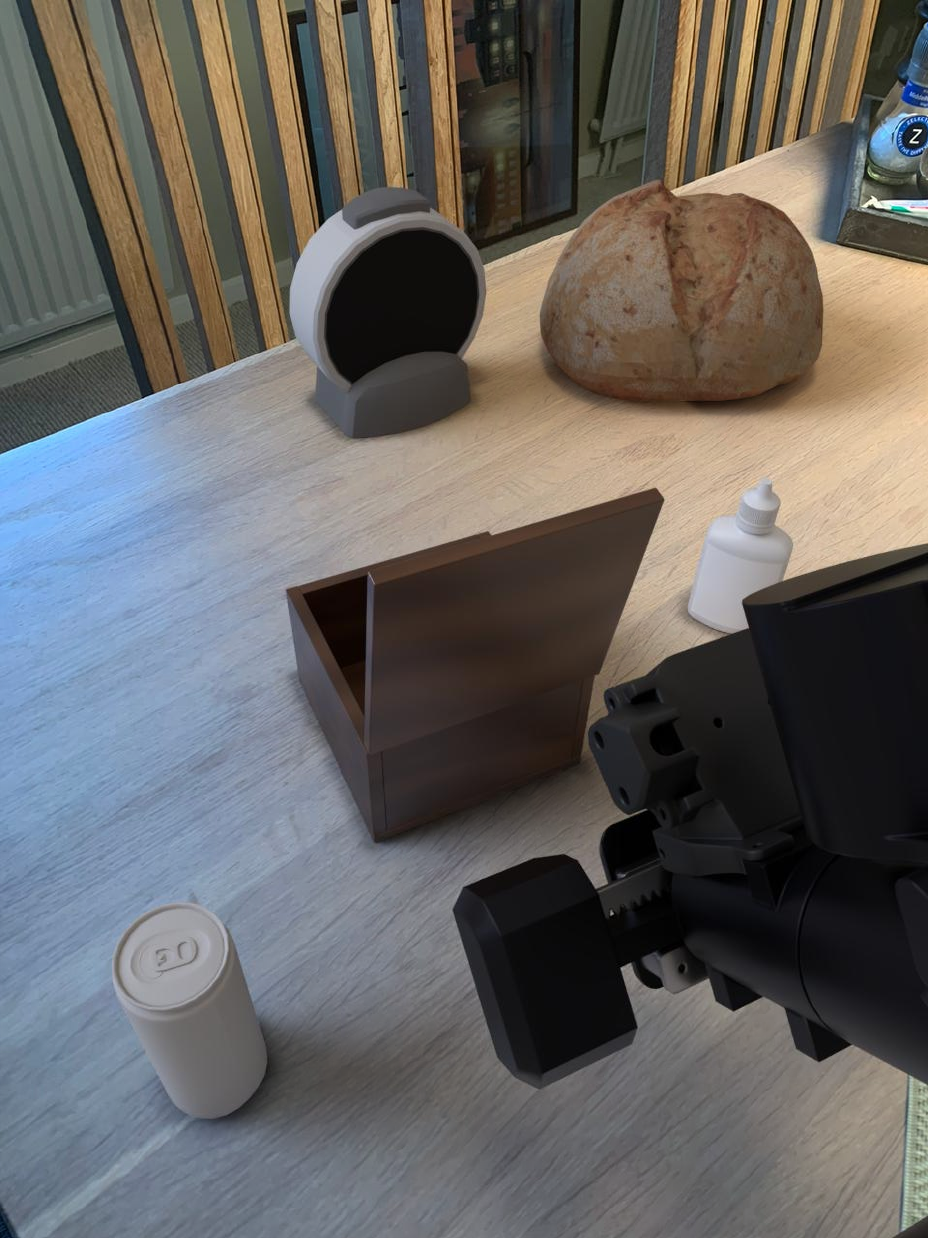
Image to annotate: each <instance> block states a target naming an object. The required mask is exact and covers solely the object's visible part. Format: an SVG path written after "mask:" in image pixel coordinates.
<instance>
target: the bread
mask: <svg viewBox="0 0 928 1238" xmlns="http://www.w3.org/2000/svg"><path fill="white" fill-rule="evenodd" d="M817 267H818V266H817V263H816V260H815V257H814V254H813V251H812V249H811V247H810V245H809V243H808V241H807V240H806V238H805V237H804V236H803V234H802V232H801V231H800V230H799V229H798V227H797V226H796V225H795V223H794V222H793V221H792V220H791V218H790V217H789V216H788V214H786V212H784V211H783V210H782V209H780V208H778V207H776V206H775V205H773V204H772V203H770V202H767V201H765V200H763V199H759V198H756V197H752V196H750V195H747V194H745V193H743V192H736V193H729V194H721V193H716V192H715V193H714V192H703V193H695V194H686V195H680V196H677V195H675V194H674V192H672V191H671V190H670V189H668V188H667V186H665V184H664V182H663V181H662V180H661V179H654V180H652V181H649V182H646V183H645V184H642V185H640V186H637V187H635V188H632V189H630V190H627V191H625V192H622V193H620V194H617V195H615V196H613V197H611V198H610V199H609V200H607V201H606V202H604V203H603V204H602V205H600V206H599V207H597V208H596V209H595V210H594V211H593V212H592V213H591V214H589V215H588V216H587V217H586V218H585V219H584V220H583V221H582V222H581V223H580V225H579V226H578V227H577V228H576V230H575V231H574V232H573V233H572V235H571V237H570V238H569V240H568V241H567V243H566V244H565V246H564V247H563V250H562V251H561V253H560V255H559V257H558V259H557V261H556V264H555V266H554V268H553V270H552V273H551V274H550V276H549V278H548V281H547V285H546V288H545V291H544V295H543V298H542V302H541V306H540V310H539V316H538V317H539V328H540V331H539V332H540V335H541V338H542V341H543V345H544V346H545V349H546V350H547V352H548V353H549V355H550V356H551V358H552V359H553V360H554V362H555V363H556V365H558V366H559V368H560V369H561V370H562V371H563V373H565V374H566V375H567V376H568V378H569V379H570V380H572V381H573V382H575V383H576V384H578V385H580V386H582V387H584V388H585V389H587V390H588V391H590V392H592V393H593V392H594V393H597V394H601V395H605V396H609V397H614V398H617V399H622V400H629V401H640V402H688V401H689V402H694V401H710V402H711V401H713V402H714V401H715V402H716V401H717V402H718V401H719V402H720V401H729V400H738V399H746V398H751V397H753V398H754V397H756V396H759V395H760V394H762V393H764V392H767V391H768V390H771V389H773V388H774V387H777V386H778V385H784V384H789V383H793V382H794V381H796V380H797V379H799V378H800V377H801V376H802V375H804V374H805V373H807V372H808V371H809V370H810V369H812V368H813V366H814V364H815V363H816V362H817V360H818V358H819V357H820V354H821V350H822V347H823V333H824V332H823V331H824V326H823V325H824V295H823V291H822V287H821V282H820V279H819V274H818V268H817Z"/></svg>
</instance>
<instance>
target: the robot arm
mask: <svg viewBox="0 0 928 1238" xmlns="http://www.w3.org/2000/svg"><path fill="white" fill-rule="evenodd" d="M742 605H743V609H744V612H745V616H746V620H747V623H748V627H749V628H747V629H744V630H741V631H738V632H735V633H732V634H730V633H729V634H727V635H724V636H721V637H718V638H715V639H713V640H709V641H707V642H705V643H702V644H699V645H696V646H693V647H691V648H688V649H685V650H682V651H680V652H679V651H678V652H676V653H674V654H671V655H669V656H666V657H665V658H664V659H663V660H661V661H660V662H659V663H658V664H657V665H656V666H655V667H653V668H652V669H651V670H650V671H648V672H647V674H645V675H643V676H640V677H637V678H634V679H632V680H628V681H626V682H622V683H621V684H617V685H615V686H612V687H609V688H606V689H605V690H604V691H603V702H604V705H605V708H606V711H607V715H604V716H602V717H599V718H598V719H597V720H595V721H594V723H592V724H590V726H589V727H588V730H587V744H588V748H589V750H590V753H591V754H592V757H593V759H594V761H595V763H596V766H597V768H598V770H599V773H600V774H601V777H602V780H603V781H604V784H605V786H606V788H607V791H608V794H609V795H610V797H611V800H612V802H613V804H614V805H615V807H616V808H618V810H619V811H620V812H622V813H623V814H624V815H627V816H629V817H626V818H623V819H622V820H619V821H616V822H614V823H612V824H610V825H608V826H607V827H606V828H605V829H604V831H603V832H602V835H601V837H600V841H599V847H598V848H599V849H598V852H599V858H600V861H601V866H602V868H603V872H604V875H605V878H606V882H607V883H606V884H604V885H602V886H601V885H600V886H599V887H595V886H594V884H593V882H592V880H591V879H590V877H589V876H588V874H587V872H586V871H585V869H584V868H583V866H582V864H581V863H580V861H579V860H578V859H576V858H575V857H572V856H570V855H567V854H565V853H560V854H553V855H546V856H538V857H533V858H530V859H528V860H525V861H523V862H521V863H518V864H515V865H513V866H511V867H508V868H506V869H504V870H501V871H499V872H496V873H494V874H491V875H489V876H487V877H483V878H481V879H479V880H477V881H474V882H471V883H468V884H467V885H464V886H463V887H462V889H461V891H460V892H459V895H458V897H457V899H456V901H455V903H454V906H453V907H452V913H453V916H454V919H455V924H456V927H457V929H458V933H459V936H460V939H461V943H462V946H463V950H464V953H465V956H466V960H467V962H468V966H469V970H470V972H471V977H472V979H473V983H474V986H475V989H476V992H477V996H478V999H479V1002H480V1005H481V1009H482V1012H483V1015H484V1016H483V1017H484V1019H485V1022H486V1026H487V1029H488V1032H489V1035H490V1039H491V1042H492V1046H493V1049H494V1052H495V1055H496V1058H497V1060H499V1061H500V1063H501V1064H502V1065H503V1066H504V1067H505V1068H506V1069H507V1071H509V1073H510V1074H511V1075H512V1077H514V1078H515V1079H517V1080H519V1081H521V1082H523V1083H525V1084H527V1085H528V1086H531V1087H533V1088H534V1089H537V1090H542V1089H544V1088H547V1087H548V1086H550V1085H552V1084H554V1083H556V1082H558V1081H560V1080H562V1079H564V1078H566V1077H568V1076H570V1075H572V1074H574V1073H576V1072H578V1071H580V1070H583V1069H584V1068H587V1067H589V1066H590V1065H592V1064H595V1063H597V1062H598V1061H601V1060H603V1059H605V1058H607V1057H609V1056H611V1055H613V1054H615V1053H617V1052H620V1051H621V1050H623V1049H626V1048H627V1047H629V1046H631V1045H633V1042H634V1040H635V1037H636V1034H637V1032H638V1029H639V1026H638V1023H637V1019H636V1015H635V1012H634V1010H633V1006H632V1002H631V999H630V995H629V991H628V988H627V985H626V982H625V978H624V975H623V971H622V968H624V967H625V966H628V965H630V964H631V968H632V972H633V973H634V976H635V978H636V979H637V980H638V981H639V982H640V983H641V984H642V985H644V986H645V987H647V988H648V989H650V990H659V989H662V988H664V990H665V991H667V992H669V993H670V994H672V995H677V994H680V993H682V992H683V991H686V990H688V989H690V988H691V987H694V986H696V985H699V984H700V983H702V982H704V981H707V980H709V983H710V986H711V987H710V988H711V990H712V993H713V998H714V1001H715V1002H716V1003H718V1004H719V1005H721V1006H723V1007H724V1008H726V1009H727V1010H730V1011H731V1012H733V1013H734V1012H736V1011H738V1010H740V1009H742V1008H744V1007H747V1006H748V1005H750V1004H752V1003H755V1002H757V1001H758V1000H760V999H762V998H765V999H766V1000H768V1001H771V1002H773V1003H774V1004H776V1005H778V1006H780V1007H782V1008H783V1009H784V1013H785V1015H786V1018H787V1022H788V1026H789V1029H790V1033H791V1037H792V1040H793V1044H794V1048H795V1050H797V1051H799V1052H800V1053H802V1054H804V1055H806V1056H807V1057H809V1058H810V1059H812V1060H814V1061H815V1062H817V1063H821V1062H823V1061H825V1060H827V1059H828V1058H831V1057H832V1056H834V1055H837V1054H838V1053H840V1052H842V1051H844V1050H845V1049H847V1048H849V1047H851V1046H852V1045H853V1046H854V1047H856V1048H858V1049H860V1050H862V1051H864V1053H867V1054H869V1055H871V1056H873V1057H875V1058H876V1059H878V1060H880V1061H882V1062H883V1063H885V1064H888V1065H890V1066H891V1067H893V1068H895V1069H896V1070H898V1071H901V1072H902V1073H904V1074H906V1075H908V1076H910V1077H912V1078H913V1079H915V1080H917V1081H919V1082H920V1083H923V1084H925V1085H927V1086H928V542H927V543H922V544H917V545H912V546H906V547H902V548H901V547H900V548H898V549H893V550H888V551H885V552H880V553H875V554H872V555H868V556H864V557H860V558H856V559H851V560H848V561H844V562H840V563H837V564H833V565H829V566H827V567H823V568H819V569H815V570H812V571H809V572H806V573H803V574H800V575H797V576H793V577H791V578H787V579H785V580H784V579H783V581H782V582H779V583H776V584H774V585H771V586H768V587H766V588H763V589H761V590H759V591H757V592H754V593H752V594H750V595H749V596H747V597H746V598H744V599H743V600H742ZM611 913H612V914H611ZM892 1238H928V1215H926V1216H925V1217H923V1218H921V1219H920V1220H918V1221H917V1222H915V1223H913V1224H912V1225H910V1226H908V1227H907V1228H905V1229H903V1230H902V1231H901V1232H899V1233H897V1234H896V1235H894V1236H893V1237H892Z"/></svg>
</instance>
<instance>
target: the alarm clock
mask: <svg viewBox="0 0 928 1238" xmlns="http://www.w3.org/2000/svg"><path fill="white" fill-rule="evenodd" d="M485 271H486V270H485V266H484V264H483V261H482V258H481V256H480V253H479V251H478V248H477V247H476V246H475V244H474V243H473V242H472V240H471V239H470V238H469V236H468V235H467V234H466V233H465V232H464V230H462V229H461V228H460V227H458V226H457V225H455V224H454V223H453V222H451V221H450V220H448V219H447V218H446V217H445V216H443V215H442V214H441V213H439V212H438V211H436V209H433V208H432V207H431V201H430V200H429V199H428V198H426V197H425V196H424V195H422V194H421V193H420V192H419V191H417V190H414V189H410V188H405V187H396V186H386V187H385V186H384V187H383V186H382V187H376V188H373V189H370V190H368V191H365V192H363V193H361V194H359V195H357V196H355V197H354V198H352V199H351V200H350V201H348V202H347V203H346V204H345V205H344V206H343V207H342V209H340V210H339V211H337V212H336V213H335V214H333V215H331V216H330V217H328V219H326V221H325V222H324V223H323V224H322V225H321V226H320V227H319V228H318V229H317V231H316V232H315V233H314V234H313V235H312V236H311V237H310V238H309V240H308V242H307V243H306V245H305V247H304V249H303V251H302V253H301V255H300V257H299V259H298V260H297V262H296V265H295V270H294V273H293V275H292V276H293V277H292V280H291V283H290V288H289V317H290V321H291V325H292V329H293V333H294V336H295V339H296V340H297V341H298V343H299V345H300V347H301V349H302V350H303V351H304V353H305V355H306V356H307V357H308V358H309V359H310V361H311V362H312V363H313V364H314V365H315V366H316V377H315V379H316V380H315V395H314V396H315V397H314V401H315V403H317V404H318V406H319V407H320V408H321V409H322V410H323V411H324V412H325V413H326V414H327V416H328V418H330V420H332V422H333V423H334V424H335V425H336V426H337V427H338V428H339V430H340V431H341V432H342V433H343V434H344V435H345V437H348V438H351V439H358V438H359V439H360V438H375V437H381V436H386V435H387V436H388V435H393V434H398V433H402V432H403V433H404V432H407V431H410V430H414V429H418V428H422V427H425V426H427V425H430V424H432V423H435V422H437V421H440V420H442V419H444V418H446V417H448V416H450V415H452V414H454V413H455V412H458V411H459V410H461V409H463V408H464V407H465V406H466V405H468V404H469V403H470V402H472V394H471V386H470V378H469V371H468V370H469V369H468V363H467V362H466V361H465V360H464V359H463V357H464V356H465V354H466V353H467V351H468V350H469V348H470V347H471V345H472V343H473V341H474V339H475V338H476V335H477V333H478V329H479V327H480V324H481V322H482V319H483V316H484V311H485V305H486V297H487V282H486V272H485Z"/></svg>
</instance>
